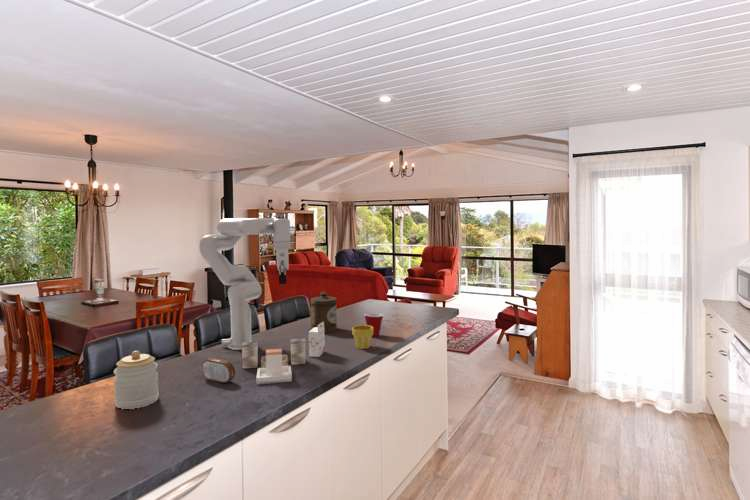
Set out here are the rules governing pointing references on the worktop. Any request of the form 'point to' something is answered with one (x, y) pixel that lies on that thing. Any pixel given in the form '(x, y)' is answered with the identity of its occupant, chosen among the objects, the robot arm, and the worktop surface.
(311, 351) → the ink cartridge box
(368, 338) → the plant pot
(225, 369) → the tin
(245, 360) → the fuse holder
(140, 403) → the jar
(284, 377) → the tray
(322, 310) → the wooden container
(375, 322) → the plastic cup
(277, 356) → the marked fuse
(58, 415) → the worktop surface
